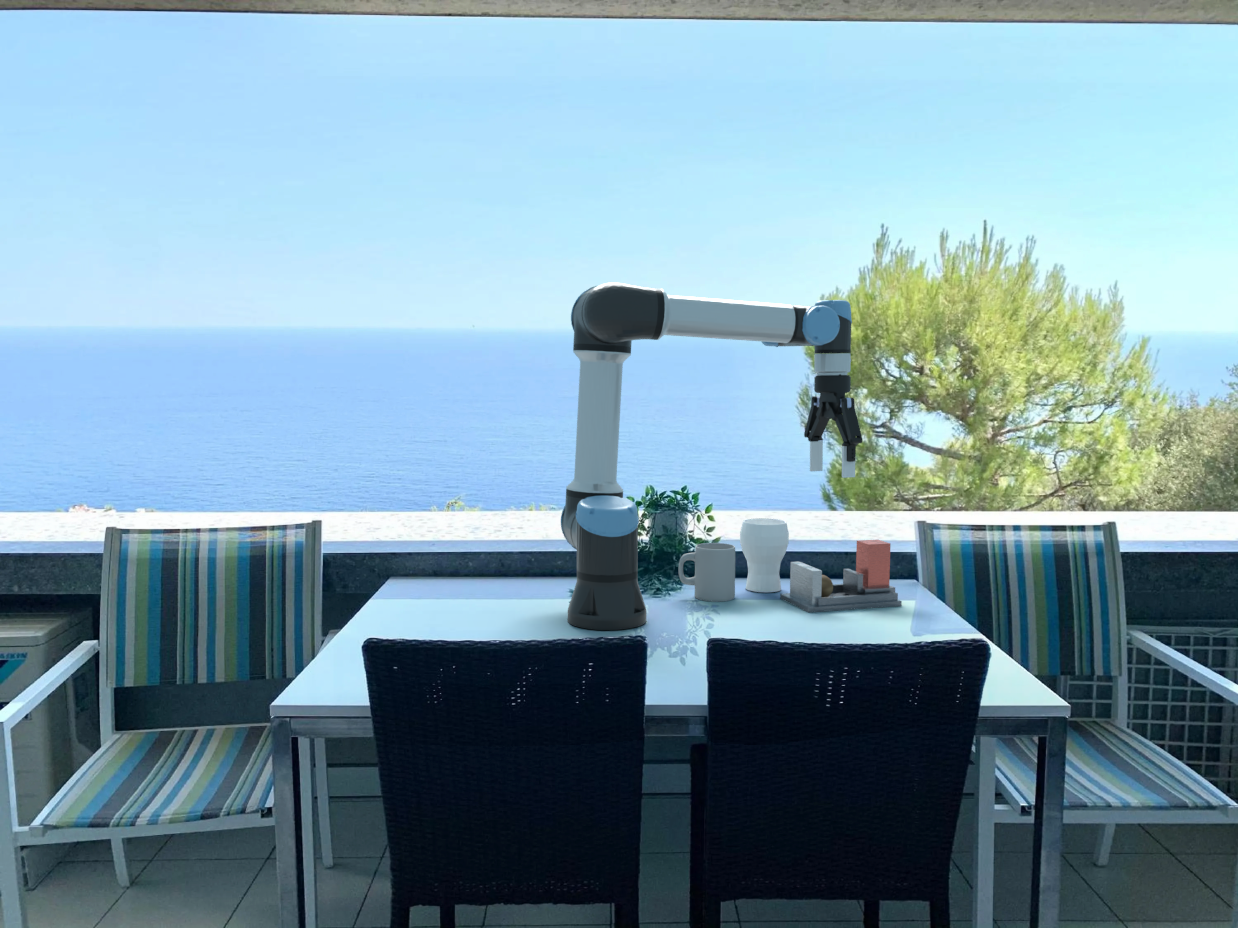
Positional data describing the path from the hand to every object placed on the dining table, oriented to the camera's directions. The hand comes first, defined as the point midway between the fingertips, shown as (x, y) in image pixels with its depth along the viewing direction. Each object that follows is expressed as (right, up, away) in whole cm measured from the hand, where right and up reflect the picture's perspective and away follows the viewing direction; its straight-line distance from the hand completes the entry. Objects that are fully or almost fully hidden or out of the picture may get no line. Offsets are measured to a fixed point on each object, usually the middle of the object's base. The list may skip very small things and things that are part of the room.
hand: (831, 474), depth 219 cm
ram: (+7, -25, -4) cm, 26 cm away
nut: (-4, -27, -7) cm, 28 cm away
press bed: (+1, -27, -5) cm, 27 cm away
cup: (-14, -26, +7) cm, 30 cm away
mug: (-27, -26, -1) cm, 38 cm away
